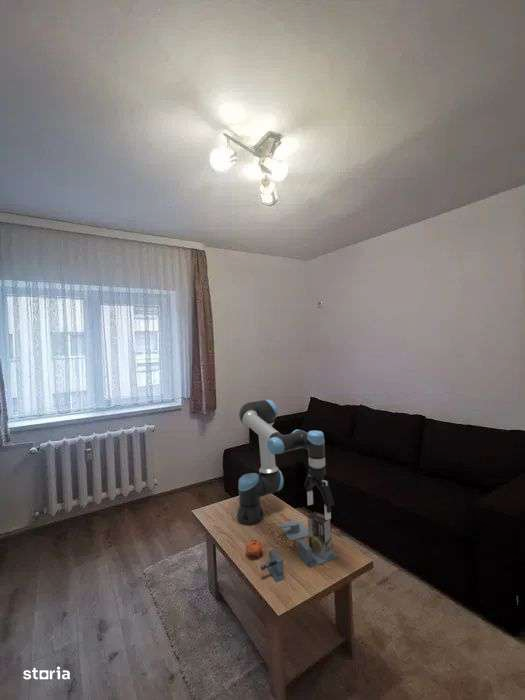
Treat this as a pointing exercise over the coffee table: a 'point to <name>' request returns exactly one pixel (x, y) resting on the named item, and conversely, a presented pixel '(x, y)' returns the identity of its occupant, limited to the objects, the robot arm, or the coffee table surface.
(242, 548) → the coffee table surface
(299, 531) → the shower valve
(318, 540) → the coffee box
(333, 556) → the pad
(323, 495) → the robot arm
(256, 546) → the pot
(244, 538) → the coffee table surface
